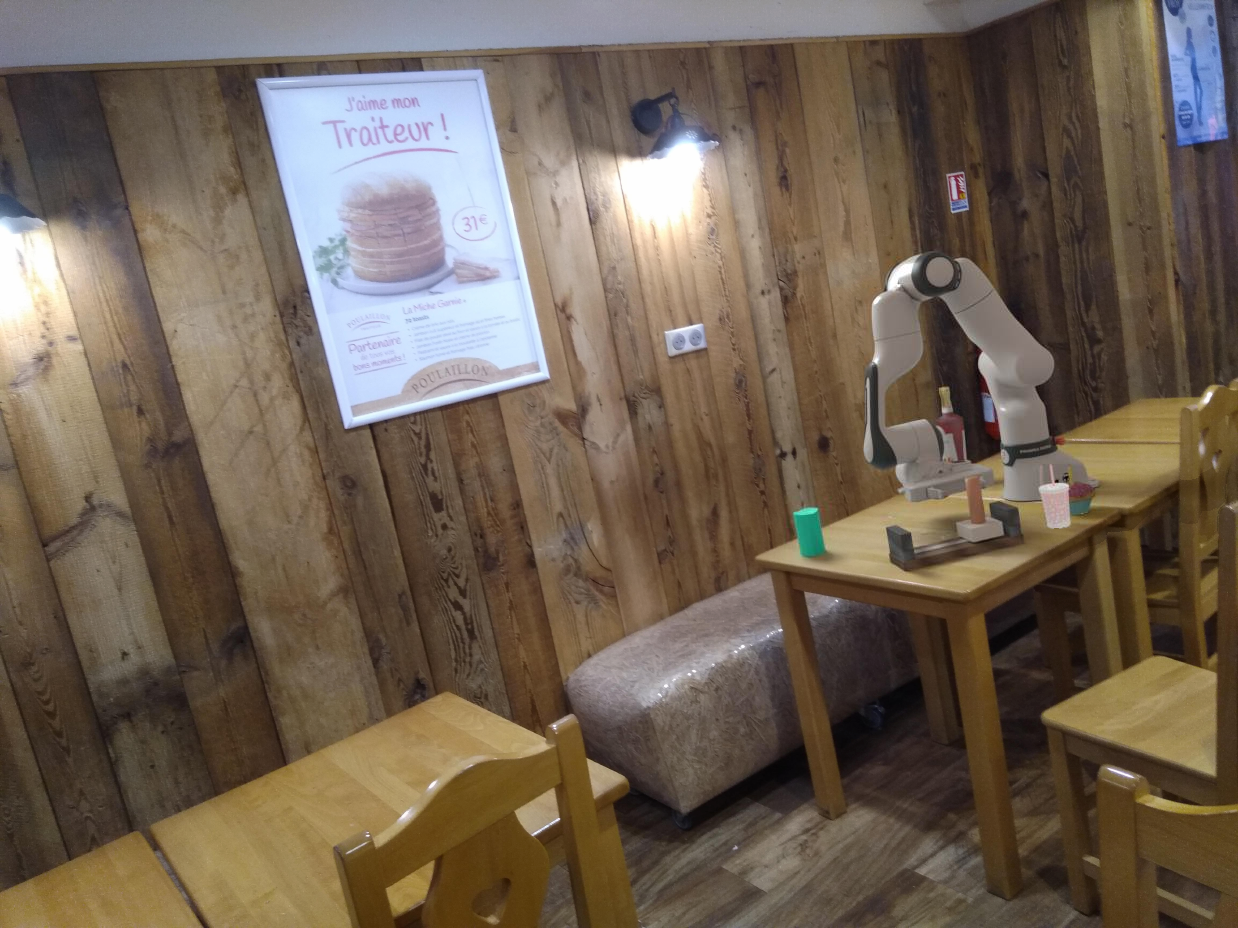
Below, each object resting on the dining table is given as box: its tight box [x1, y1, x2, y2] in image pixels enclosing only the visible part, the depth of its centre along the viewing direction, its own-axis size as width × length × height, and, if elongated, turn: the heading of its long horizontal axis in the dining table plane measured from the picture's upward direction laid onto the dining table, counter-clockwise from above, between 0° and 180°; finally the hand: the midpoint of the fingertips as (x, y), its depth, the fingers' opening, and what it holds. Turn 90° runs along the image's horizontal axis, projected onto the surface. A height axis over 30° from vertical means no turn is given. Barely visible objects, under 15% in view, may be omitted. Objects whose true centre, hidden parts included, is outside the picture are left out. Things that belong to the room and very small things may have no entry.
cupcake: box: [1066, 464, 1096, 514], centre depth 206 cm, size 9×8×12 cm
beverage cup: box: [1039, 464, 1071, 529], centre depth 199 cm, size 6×6×14 cm
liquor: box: [934, 386, 968, 462], centre depth 250 cm, size 7×7×28 cm
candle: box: [793, 504, 826, 557], centre depth 218 cm, size 6×6×12 cm
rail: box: [885, 500, 1025, 572], centre depth 196 cm, size 27×8×8 cm, turn 95°
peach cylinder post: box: [955, 476, 1004, 542], centre depth 196 cm, size 7×7×13 cm
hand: (963, 489), depth 201 cm, fingers open, 8 cm apart
